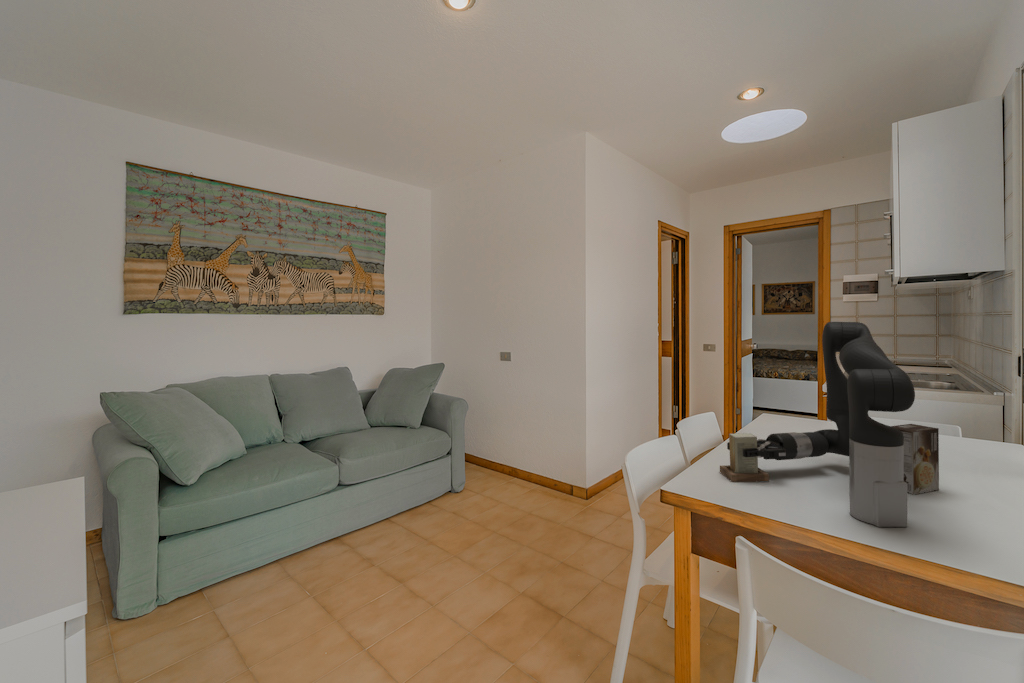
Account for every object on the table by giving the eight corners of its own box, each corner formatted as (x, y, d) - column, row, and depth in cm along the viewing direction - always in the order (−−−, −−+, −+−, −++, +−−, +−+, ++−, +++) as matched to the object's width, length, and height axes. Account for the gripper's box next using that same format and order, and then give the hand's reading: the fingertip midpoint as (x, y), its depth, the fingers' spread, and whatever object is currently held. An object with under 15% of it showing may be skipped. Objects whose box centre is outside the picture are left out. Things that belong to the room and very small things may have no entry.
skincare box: (751, 474, 126) (751, 432, 126) (758, 479, 122) (758, 436, 121) (728, 474, 127) (728, 432, 126) (735, 479, 122) (734, 436, 122)
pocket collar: (769, 481, 120) (769, 474, 120) (732, 481, 120) (732, 474, 120) (754, 471, 128) (754, 465, 128) (719, 472, 128) (719, 465, 128)
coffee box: (910, 482, 116) (911, 423, 116) (939, 490, 110) (940, 428, 110) (885, 486, 114) (885, 426, 113) (914, 495, 108) (914, 431, 107)
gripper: (771, 427, 133) (720, 430, 131) (808, 439, 118) (752, 443, 116) (771, 451, 133) (720, 455, 131) (808, 466, 119) (752, 470, 117)
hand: (735, 449), depth 124 cm, fingers open, 6 cm apart
